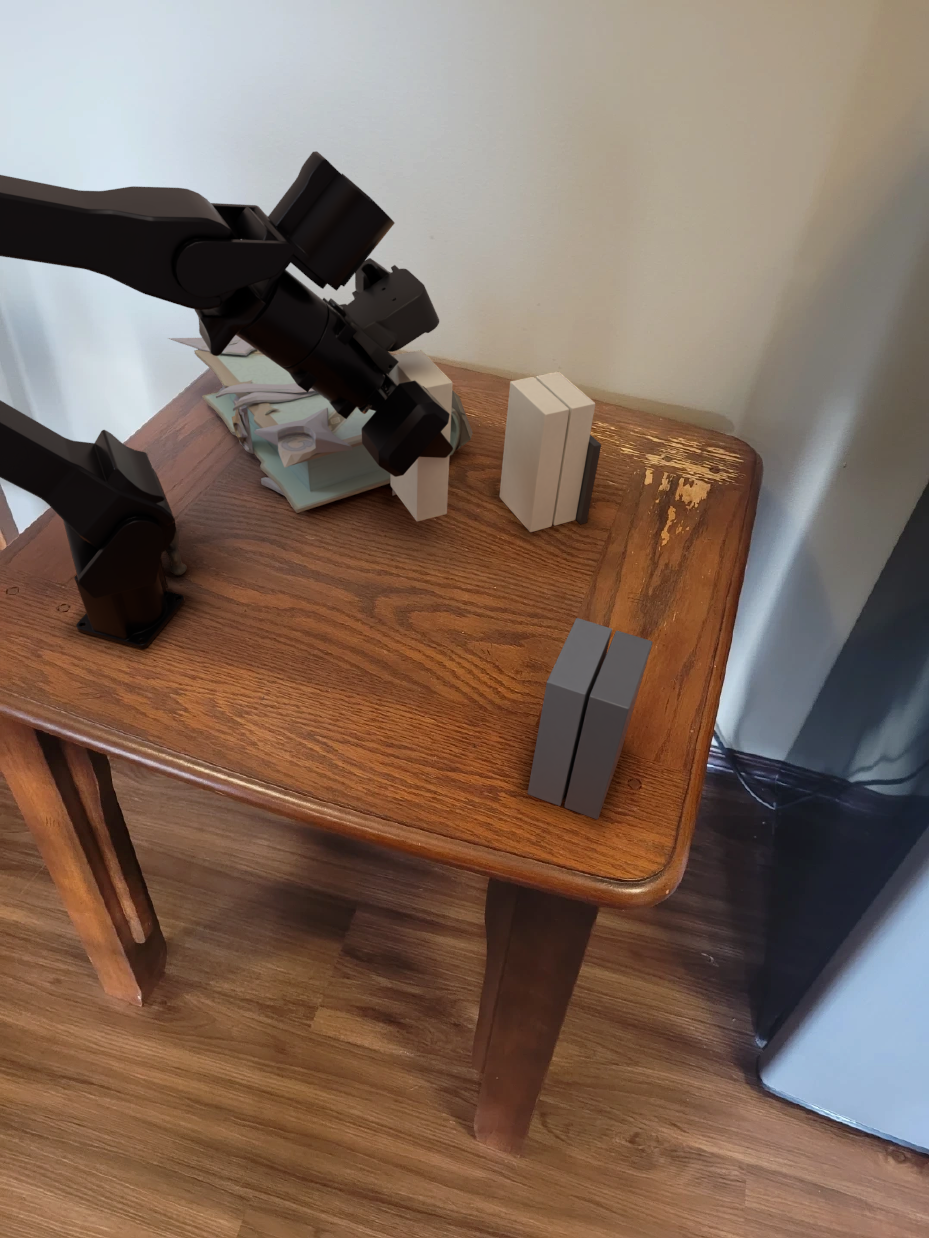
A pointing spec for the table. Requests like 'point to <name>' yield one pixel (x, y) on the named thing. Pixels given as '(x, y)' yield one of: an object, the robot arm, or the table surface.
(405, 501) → the white book
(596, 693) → the grey books
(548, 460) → the white books
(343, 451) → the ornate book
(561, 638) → the table surface
